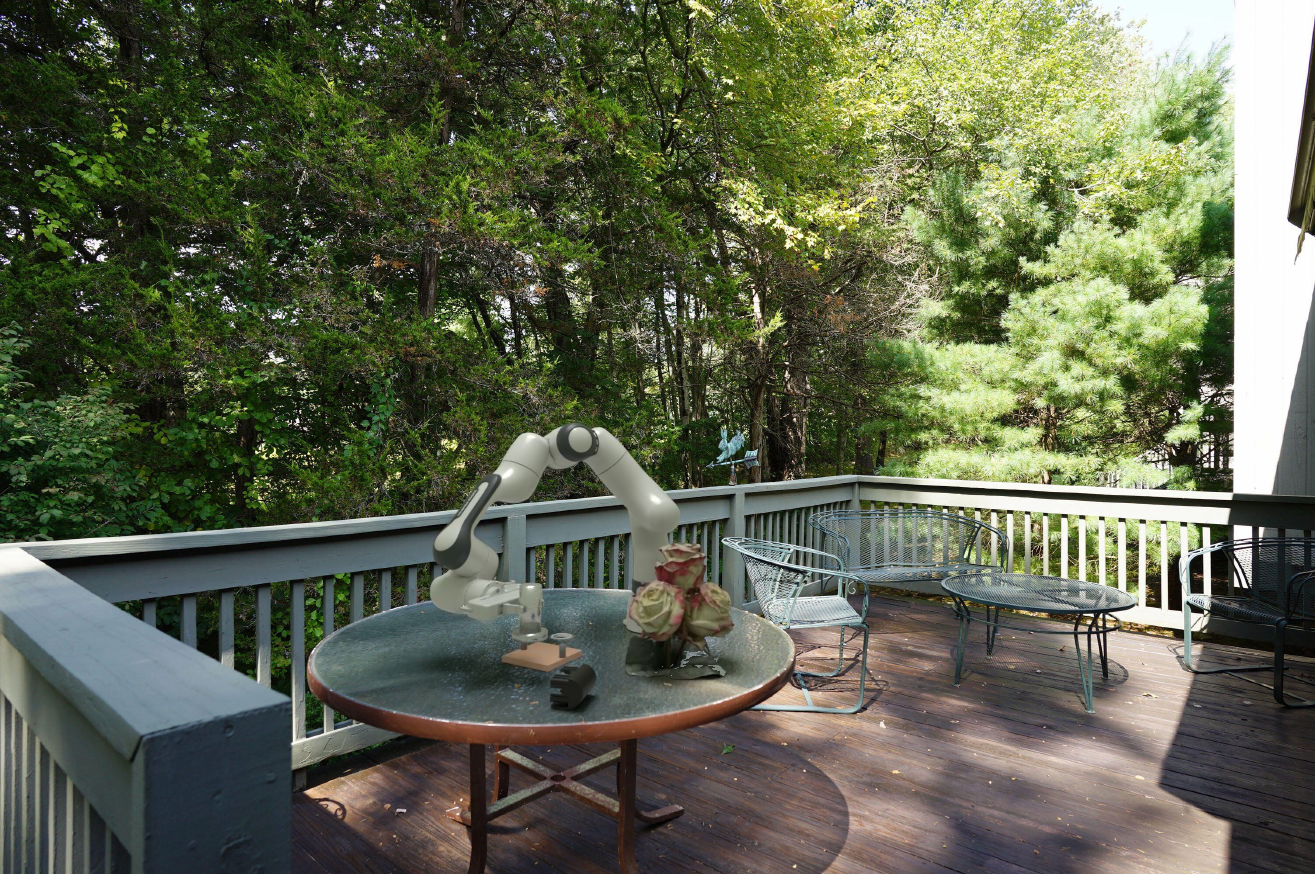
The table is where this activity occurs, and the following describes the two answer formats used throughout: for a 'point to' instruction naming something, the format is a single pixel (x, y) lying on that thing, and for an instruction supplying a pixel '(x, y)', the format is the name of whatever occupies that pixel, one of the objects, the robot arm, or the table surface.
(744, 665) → the table surface
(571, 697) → the end cap
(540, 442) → the robot arm
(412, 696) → the table surface
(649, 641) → the rose bouquet
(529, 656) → the locating plate
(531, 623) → the hub
